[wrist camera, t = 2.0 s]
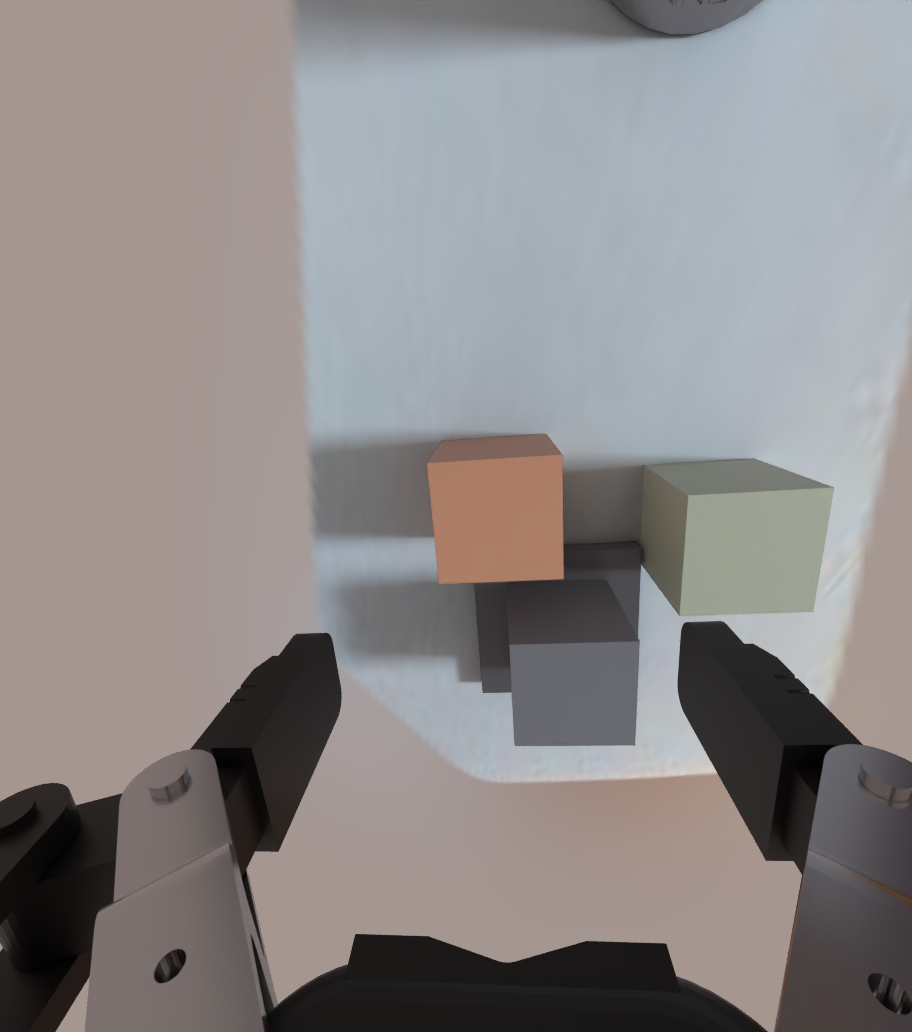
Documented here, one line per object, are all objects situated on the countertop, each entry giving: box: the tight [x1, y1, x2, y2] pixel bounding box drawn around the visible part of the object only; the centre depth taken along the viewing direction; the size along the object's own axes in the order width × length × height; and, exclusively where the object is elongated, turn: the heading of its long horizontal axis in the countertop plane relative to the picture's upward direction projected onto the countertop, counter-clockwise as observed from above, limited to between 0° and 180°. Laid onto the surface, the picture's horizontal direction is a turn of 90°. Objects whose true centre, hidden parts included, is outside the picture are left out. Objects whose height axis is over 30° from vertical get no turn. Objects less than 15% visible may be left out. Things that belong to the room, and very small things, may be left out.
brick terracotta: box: [427, 434, 564, 584], centre depth 23 cm, size 6×6×6 cm
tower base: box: [474, 542, 641, 746], centre depth 24 cm, size 9×9×7 cm
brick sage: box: [640, 459, 834, 616], centre depth 22 cm, size 6×6×6 cm
